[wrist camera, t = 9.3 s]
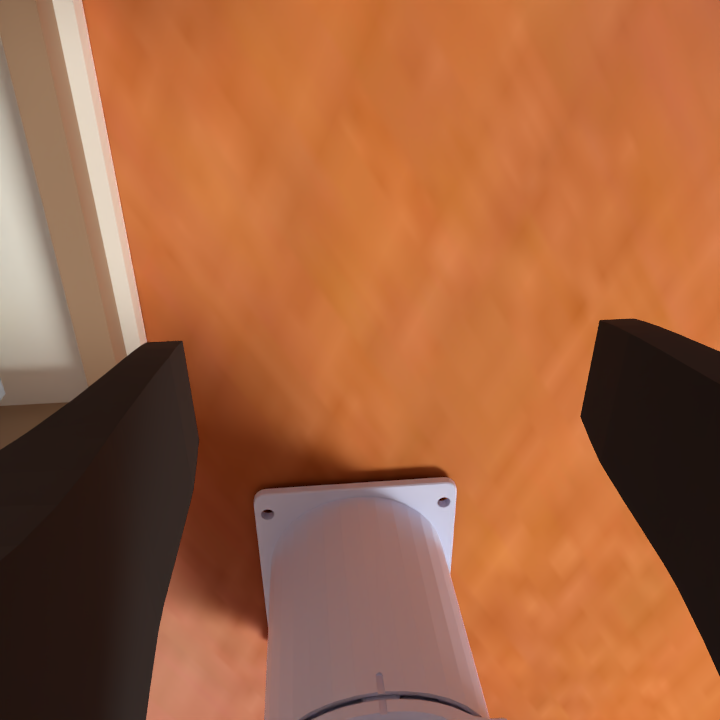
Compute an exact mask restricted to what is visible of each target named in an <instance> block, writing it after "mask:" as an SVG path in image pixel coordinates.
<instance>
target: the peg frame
mask: <svg viewBox="0 0 720 720" xmlns="http://www.w3.org/2000/svg"><path fill="white" fill-rule="evenodd" d="M144 343H147V339H146V334H145V329H144V323H143V318H142V313H141V308H140V303H139V297H138V292H137V287H136V282H135V276H134V271H133V266H132V261H131V255H130V250H129V245H128V240H127V234H126V229H125V224H124V219H123V214H122V208H121V203H120V198H119V193H118V187H117V182H116V177H115V172H114V166H113V161H112V156H111V151H110V145H109V140H108V135H107V130H106V125H105V119H104V114H103V109H102V104H101V98H100V93H99V88H98V83H97V77H96V72H95V67H94V62H93V56H92V51H91V46H90V41H89V36H88V30H87V25H86V20H85V15H84V9H83V4H82V0H0V379H1V382H2V385H3V388H4V391H5V395H4V396H3V398H2V399H1V400H0V450H1V449H2V448H4V447H5V446H7V445H8V444H10V443H12V442H13V441H15V440H16V439H18V438H19V437H21V436H22V435H24V434H25V433H27V432H28V431H30V430H31V429H33V428H34V427H35V426H37V425H38V424H40V423H41V422H42V421H44V420H45V419H46V418H48V417H49V416H51V415H52V414H53V413H55V412H56V411H58V410H59V409H60V408H62V407H63V406H65V405H66V404H67V403H69V402H70V401H71V400H73V399H74V398H75V397H77V396H78V395H79V394H80V393H82V392H83V391H84V390H85V389H87V388H88V387H89V386H91V385H92V384H93V383H94V382H96V381H97V380H98V379H99V378H101V377H102V376H103V375H104V374H106V373H107V372H108V371H109V370H110V369H112V368H113V367H114V366H115V365H117V364H118V363H119V362H120V361H121V360H123V359H124V358H125V357H126V356H128V355H129V354H130V353H131V352H133V351H134V350H135V349H137V348H138V347H139V346H141V345H143V344H144Z"/></svg>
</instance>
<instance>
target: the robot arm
mask: <svg viewBox="0 0 720 720" xmlns="http://www.w3.org/2000/svg"><path fill="white" fill-rule="evenodd" d="M580 417H581V419H582V422H583V424H584V427H585V429H586V431H587V434H588V436H589V439H590V441H591V444H592V446H593V448H594V450H595V452H596V454H597V457H598V459H599V461H600V463H601V465H602V466H603V468H604V470H605V471H606V473H607V475H608V476H609V478H610V480H611V481H612V483H613V484H614V486H615V488H616V489H617V491H618V492H619V494H620V496H621V497H622V499H623V500H624V502H625V504H626V505H627V507H628V508H629V510H630V511H631V513H632V515H633V516H634V518H635V519H636V521H637V522H638V524H639V526H640V527H641V529H642V530H643V532H644V533H645V535H646V537H647V538H648V540H649V541H650V543H651V544H652V546H653V548H654V549H655V551H656V552H657V554H658V555H659V557H660V559H661V560H662V562H663V563H664V565H665V567H666V568H667V570H668V572H669V574H670V575H671V577H672V579H673V581H674V582H675V584H676V586H677V588H678V590H679V592H680V594H681V596H682V598H683V600H684V602H685V604H686V606H687V608H688V610H689V612H690V614H691V616H692V618H693V620H694V622H695V624H696V626H697V628H698V630H699V632H700V634H701V636H702V638H703V640H704V643H705V645H706V647H707V649H708V651H709V654H710V656H711V658H712V660H713V662H714V665H715V667H716V669H717V671H718V673H719V676H720V352H719V351H717V350H715V349H712V348H710V347H708V346H705V345H703V344H700V343H698V342H696V341H693V340H691V339H689V338H686V337H684V336H682V335H679V334H677V333H674V332H672V331H669V330H667V329H664V328H662V327H659V326H656V325H653V324H650V323H647V322H644V321H641V320H637V319H615V320H600V321H599V326H598V331H597V336H596V341H595V346H594V351H593V356H592V361H591V366H590V371H589V376H588V381H587V386H586V391H585V396H584V401H583V406H582V411H581V416H580ZM198 445H199V437H198V431H197V425H196V419H195V413H194V407H193V401H192V395H191V389H190V383H189V377H188V371H187V365H186V359H185V353H184V347H183V341H168V342H148V343H144V344H143V345H141V346H139V347H138V348H137V349H135V350H134V351H133V352H131V353H130V354H129V355H128V356H126V357H125V358H124V359H123V360H121V361H120V362H119V363H118V364H117V365H115V366H114V367H113V368H112V369H110V370H109V371H108V372H107V373H106V374H104V375H103V376H102V377H101V378H99V379H98V380H97V381H96V382H94V383H93V384H92V385H91V386H89V387H88V388H87V389H85V390H84V391H83V392H82V393H80V394H79V395H78V396H77V397H75V398H74V399H73V400H71V401H70V402H69V403H67V404H66V405H65V406H63V407H62V408H60V409H59V410H58V411H56V412H55V413H53V414H52V415H51V416H49V417H48V418H46V419H45V420H44V421H42V422H41V423H40V424H38V425H37V426H35V427H34V428H33V429H31V430H30V431H28V432H27V433H25V434H24V435H22V436H21V437H19V438H18V439H16V440H15V441H13V442H12V443H10V444H8V445H7V446H5V447H4V448H2V449H1V450H0V720H146V715H147V707H148V699H149V692H150V685H151V678H152V671H153V664H154V657H155V651H156V644H157V637H158V631H159V626H160V621H161V616H162V611H163V607H164V602H165V598H166V594H167V591H168V587H169V583H170V579H171V575H172V571H173V568H174V564H175V560H176V556H177V552H178V548H179V545H180V541H181V537H182V533H183V529H184V525H185V521H186V517H187V513H188V509H189V506H190V502H191V497H192V493H193V489H194V481H195V473H196V464H197V455H198ZM456 495H457V489H456V485H455V482H454V481H453V480H452V479H450V478H448V477H437V478H422V479H407V480H392V481H377V482H362V483H347V484H332V485H317V486H302V487H287V488H272V489H263V490H260V491H259V492H257V493H256V495H255V497H254V512H255V520H256V529H257V537H258V546H259V554H260V563H261V571H262V580H263V588H264V597H265V605H266V614H267V622H268V647H267V670H266V693H265V716H264V720H507V719H505V718H490V717H489V714H488V710H487V706H486V703H485V699H484V696H483V692H482V688H481V685H480V681H479V677H478V674H477V670H476V667H475V663H474V659H473V656H472V652H471V648H470V645H469V641H468V638H467V634H466V630H465V627H464V623H463V619H462V616H461V612H460V609H459V605H458V601H457V598H456V594H455V590H454V587H453V583H452V580H451V576H450V571H451V558H452V545H453V533H454V520H455V507H456ZM443 497H446V498H447V499H446V500H443V501H438V500H439V499H440V498H443ZM267 509H268V510H272V512H270V513H265V512H264V510H267Z"/></svg>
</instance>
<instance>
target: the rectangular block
mask: <svg viewBox="0 0 720 720" xmlns="http://www.w3.org/2000/svg"><path fill="white" fill-rule="evenodd" d="M4 395H5V391H4V388H3V385H2V382H1V379H0V400H1V399H2V398H3V396H4Z"/></svg>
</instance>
